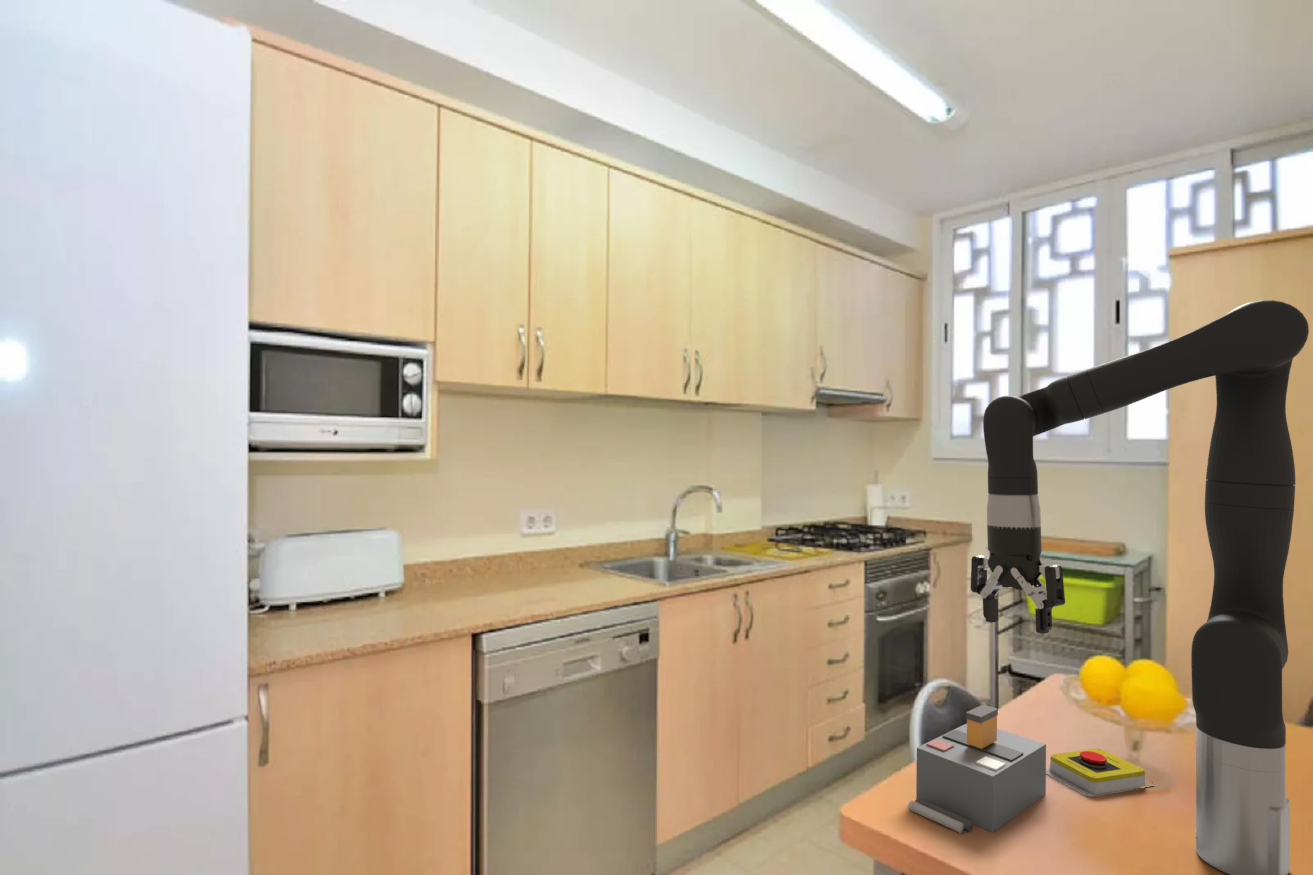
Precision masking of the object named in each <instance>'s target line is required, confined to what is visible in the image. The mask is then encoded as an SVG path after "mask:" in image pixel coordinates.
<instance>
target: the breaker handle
mask: <svg viewBox="0 0 1313 875" xmlns="http://www.w3.org/2000/svg"><path fill="white" fill-rule="evenodd" d="M998 716H999V709H998V708H996V707H994V706H993V707H992V706H989V705H986V704H981V705H978V706H977V707H974V708H972V709H970V710H968V711H966V712H965V719H966V723H967V744H969V745H972V746H975V747H978V748H981V749H983V748H984V747H986V746H988V745H990V744H992V743H993V742H995V741H997V729H998Z"/></svg>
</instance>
